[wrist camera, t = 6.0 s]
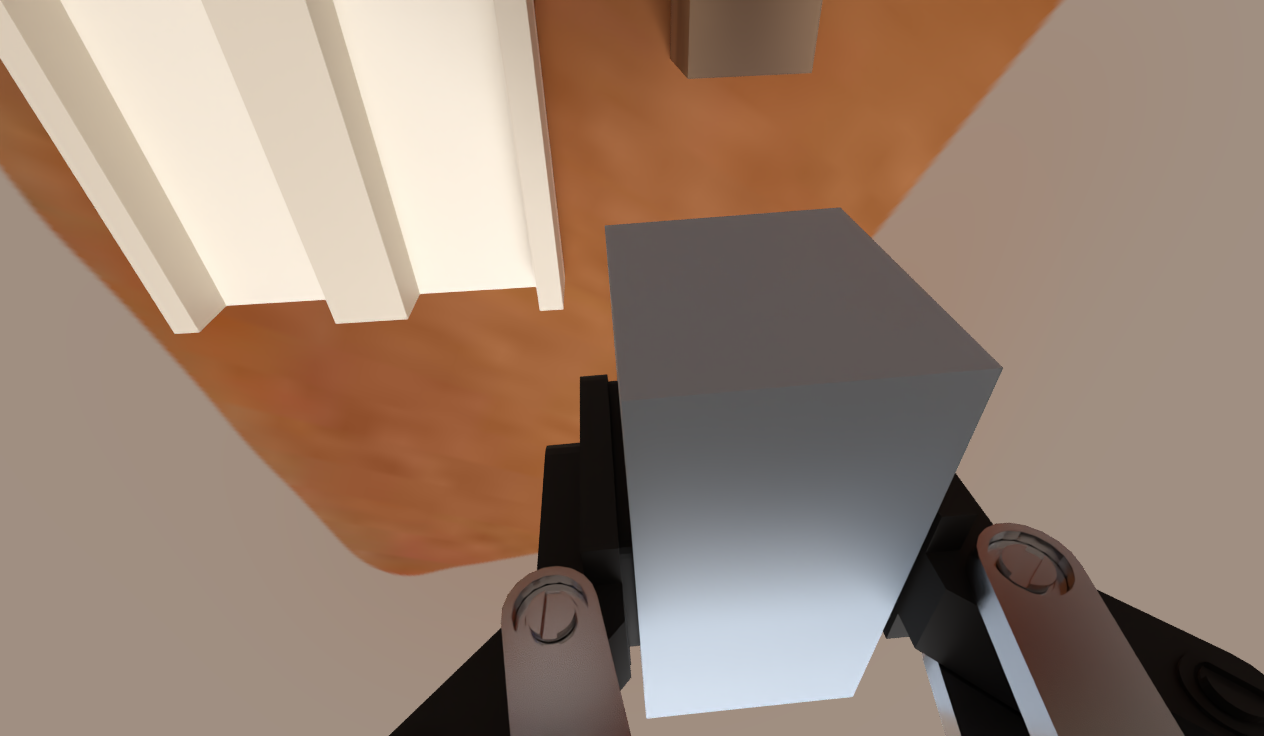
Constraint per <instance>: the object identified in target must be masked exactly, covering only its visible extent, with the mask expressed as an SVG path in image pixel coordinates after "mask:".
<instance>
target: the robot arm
mask: <svg viewBox="0 0 1264 736" xmlns="http://www.w3.org/2000/svg"><path fill="white" fill-rule="evenodd" d="M883 632H884V635H885V637H886V638H887V639H888V638H889V639H890V638H899V637H910V639H911V641H912V643H913V645H914V647H915V648H916V649H917V650H919V651H920V652H922V655H923V661H924V664H925V667H926V671H927V674H928V677H929V681H930V684H931V688H932V691H933V695H934V698H935V701H936V705H937V707H938V711H939V714H940V718H941V721H942V725H943V728H944V731H945V735H946V736H1264V675H1263V674H1262V673H1261V672H1260V671H1258V670H1257V669H1256V668H1254V667H1253V666H1252V665H1250V664H1248V663H1246V662H1245V661H1243V660H1241V659H1240V658H1237V657H1236V656H1234V655H1232V654H1231V653H1229V652H1227V651H1224V650H1222V649H1220V648H1218V647H1216V646H1214V645H1212V644H1210V643H1208V642H1206V641H1204V640H1201V639H1199V638H1197V637H1195V636H1193V635H1191V634H1189V633H1187V632H1185V631H1183V630H1180V629H1178V628H1176V627H1174V626H1172V625H1170V624H1168V623H1166V622H1163V621H1162V620H1159V619H1157V618H1155V617H1153V616H1151V615H1149V614H1147V613H1145V612H1143V611H1141V610H1139V609H1136V608H1134V607H1132V606H1130V605H1128V604H1126V603H1124V602H1121V601H1120V600H1117V599H1115V598H1113V597H1111V596H1109V595H1107V594H1105V593H1103V592H1101V591H1099V590H1097V589H1096V588H1095V587H1094V585H1093V583H1092V581H1091V580H1090V578H1089V576H1088V575H1087V573H1086V572H1085V570H1084V568H1083V566H1082V565H1081V564H1080V562H1079V561H1078V560H1077V559H1076V557H1075V556H1074V555H1073V554H1072V552H1071V551H1069V550H1068V549H1067V548H1066V547H1065V546H1063V545H1062V544H1061V543H1060V542H1059V541H1057V540H1055V539H1054V538H1052V537H1050V536H1049V535H1047V534H1045V533H1044V532H1042V531H1039V530H1036V529H1034V528H1031V527H1028V526H1025V525H1020V524H1013V523H1000V524H995V525H993V524H992V522H990V520H989V518H988V517H987V516H986V514H985V513H984V511H983V510H982V509H981V507H980V506H979V505H978V503H977V502H976V501H975V499H974V498H973V497H972V495H971V494H970V492H969V491H968V490H967V488H966V487H965V486H964V484H963V483H962V481H961V480H960V479H959V477H958V476H957V475H956V473H955V474H954V476H953V479H952V481H951V483H950V485H949V487H948V490H947V492H946V494H945V496H944V498H943V500H942V503H941V505H940V507H939V509H938V511H937V514H936V516H935V518H934V520H933V522H932V524H931V527H930V529H929V531H928V533H927V535H926V538H925V540H924V542H923V544H922V546H921V549H920V551H919V553H918V555H917V557H916V559H915V562H914V564H913V566H912V568H911V570H910V573H909V575H908V577H907V579H906V581H905V583H904V586H903V588H902V590H901V592H900V594H899V597H898V599H897V601H896V603H895V605H894V608H893V610H892V612H891V614H890V616H889V618H888V621H887V623H886V625H885V627H884V629H883ZM630 646H640V633H639V620H638V608H637V595H636V583H635V570H634V558H633V546H632V534H631V523H630V512H629V501H628V490H627V478H626V467H625V456H624V445H623V434H622V423H621V412H620V401H619V389H618V381H609V382H608V377H607V374H606V375H595V376H583V377H580V443H572V444H561V445H550V446H547V447H546V452H545V464H544V478H543V492H542V507H541V521H540V536H539V550H538V564H537V571H535V572H532V573H529V574H528V575H527V576H525V577H524V578H523V579H521V580H520V581H519V582H518V583H517V584H516V585H515V586H514V588H513V589H512V590H511V591H510V593H509V594H508V596H507V598H506V601H505V603H504V605H503V608H502V618H501V628H500V629H499V630H498V631H497V632H496V633H495V634H494V635H493V636H492V637H491V638H490V639H489V640H488V641H487V642H486V643H485V644H484V645H483V646H482V647H481V648H480V649H479V650H478V651H477V652H476V653H474V654H473V655H472V656H471V657H470V658H469V659H468V660H467V661H466V662H465V663H464V664H463V665H462V666H461V667H460V668H459V669H458V670H457V671H456V672H455V673H454V674H453V675H452V676H451V677H450V678H449V679H448V680H446V681H445V682H444V683H443V684H442V685H441V686H440V687H439V688H438V689H437V690H436V691H435V692H434V693H433V694H432V695H431V696H430V697H429V698H428V699H427V700H426V701H425V702H424V703H423V704H421V705H420V706H419V707H418V708H417V709H416V710H415V711H414V712H413V713H412V714H411V715H410V716H409V717H408V718H407V719H406V720H405V721H404V722H403V723H402V724H401V725H400V726H399V727H398V728H396V729H395V730H394V731H393V732H392V733H391V734H390V735H389V736H631V734H630V729H629V725H628V721H627V717H626V713H625V709H624V704H623V700H622V696H621V692H620V691H621V689H622V688H623V687H624V686H625V684H626V683H627V682H628V681H629V679H630V678H631V670H630V665H631V661H630V660H631V659H630Z"/></svg>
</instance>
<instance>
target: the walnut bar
mask: <svg viewBox="0 0 1264 736" xmlns="http://www.w3.org/2000/svg"><path fill="white" fill-rule="evenodd" d="M821 7H822V0H671V32H670V59H671V60H672V61H673V62H674V64H675V65H676V66H677V67H678V68H679V69H680V70H681V72H682V73H683V74H684V75H685V76H686V77H687V78H688V79H695V78H715V77H736V76H757V75H778V74H799V73H812V68H813V61H814V54H815V47H816V41H817V34H818V27H819V20H820V14H821Z"/></svg>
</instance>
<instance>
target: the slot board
mask: <svg viewBox="0 0 1264 736" xmlns="http://www.w3.org/2000/svg"><path fill="white" fill-rule="evenodd" d="M0 58H1V60H2V62H3V63H4V65H5V66H6V68H7V69H8V71H9V73H10V74H11V76H12V77H13V79H14V80H15V82H16V84H17V85H18V87H19V88H20V90H21V92H22V93H23V95H24V96H25V98H26V99H27V101H28V103H29V104H30V106H31V107H32V109H33V110H34V112H35V114H36V115H37V117H38V118H39V120H40V122H41V123H42V125H43V126H44V128H45V129H46V131H47V133H48V134H49V136H50V137H51V139H52V141H53V142H54V144H55V145H56V147H57V148H58V150H59V152H60V153H61V155H62V156H63V158H64V159H65V161H66V163H67V164H68V166H69V167H70V169H71V171H72V172H73V174H74V175H75V177H76V178H77V180H78V182H79V183H80V185H81V186H82V188H83V189H84V191H85V193H86V194H87V196H88V197H89V199H90V201H91V202H92V204H93V205H94V207H95V208H96V210H97V212H98V213H99V215H100V216H101V218H102V220H103V221H104V223H105V224H106V226H107V227H108V229H109V231H110V232H111V234H112V235H113V237H114V238H115V240H116V242H117V243H118V245H119V246H120V248H121V250H122V251H123V253H124V254H125V256H126V257H127V259H128V261H129V262H130V264H131V265H132V267H133V268H134V270H135V272H136V273H137V275H138V276H139V278H140V280H141V281H142V283H143V284H144V286H145V287H146V289H147V291H148V292H149V294H150V295H151V297H152V299H153V300H154V302H155V303H156V305H157V306H158V308H159V310H160V311H161V313H162V314H163V316H164V317H165V319H166V321H167V322H168V324H169V325H170V327H171V329H172V330H173V332H174V333H175V334H180V333H195V332H200V331H201V330H202V329H203V328H204V327H205V326H206V325H207V324H208V323H209V322H210V321H211V320H212V319H213V318H214V317H216V316H217V315H218V314H219V313H220V312H221V311H222V310H223V309H224V308H225V307H226V306H228V305H245V304H261V303H277V302H294V301H310V300H326V301H327V304H328V306H329V308H330V311H331V313H332V316H333V318H334V320H335V323H336V324H338V323H354V322H370V321H386V320H401V319H408V318H409V316H410V313H411V311H412V309H413V307H414V305H415V303H416V301H417V299H418V297H419V295H420V294H424V293H441V292H457V291H473V290H490V289H506V288H522V287H536V288H537V294H538V301H539V307H540V311H544V310H560V309H563V306H564V286H565V273H564V264H563V255H562V247H561V238H560V229H559V220H558V211H557V203H556V194H555V185H554V176H553V168H552V159H551V150H550V141H549V132H548V124H547V115H546V106H545V97H544V89H543V80H542V71H541V62H540V53H539V45H538V36H537V27H536V18H535V10H534V1H533V0H0Z"/></svg>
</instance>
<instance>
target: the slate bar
mask: <svg viewBox="0 0 1264 736" xmlns="http://www.w3.org/2000/svg"><path fill="white" fill-rule="evenodd" d="M605 235H606V247H607V259H608V271H609V283H610V296H611V308H612V320H613V332H614V344H615V356H616V368H617V380H618V389H619V401H620V412H621V423H622V434H623V445H624V456H625V467H626V478H627V490H628V501H629V512H630V523H631V534H632V546H633V558H634V570H635V583H636V595H637V608H638V620H639V633H640V651H641V662H642V673H643V685H644V697H645V708H646V718H655V717H665V716H674V715H683V714H693V713H702V712H712V711H722V710H731V709H740V708H750V707H759V706H768V705H778V704H788V703H797V702H807V701H816V700H825V699H835V698H844V697H852V696H853V694H854V693H855V691H856V688H857V686H858V684H859V682H860V679H861V677H862V675H863V673H864V671H865V669H866V666H867V664H868V662H869V660H870V658H871V655H872V653H873V651H874V649H875V647H876V644H877V642H878V640H879V638H880V636H881V634H882V631H883V629H884V627H885V625H886V623H887V621H888V618H889V616H890V614H891V612H892V610H893V608H894V605H895V603H896V601H897V599H898V597H899V594H900V592H901V590H902V588H903V586H904V583H905V581H906V579H907V577H908V575H909V573H910V570H911V568H912V566H913V564H914V562H915V559H916V557H917V555H918V553H919V551H920V549H921V546H922V544H923V542H924V540H925V538H926V535H927V533H928V531H929V529H930V527H931V524H932V522H933V520H934V518H935V516H936V514H937V511H938V509H939V507H940V505H941V503H942V500H943V498H944V496H945V494H946V492H947V490H948V487H949V485H950V483H951V481H952V479H953V476H954V474H955V472H956V470H957V468H958V466H959V463H960V461H961V459H962V457H963V455H964V452H965V450H966V448H967V446H968V443H969V441H970V439H971V437H972V435H973V433H974V431H975V428H976V426H977V424H978V422H979V419H980V417H981V415H982V413H983V411H984V409H985V407H986V404H987V402H988V400H989V398H990V396H991V393H992V391H993V389H994V387H995V385H996V382H997V380H998V378H999V376H1000V374H1001V372H1002V369H1003V367H1002V366H1000V365H999V363H998V362H997V361H996V360H995V359H993V358H992V357H991V356H990V355H989V354H988V353H987V352H986V351H985V350H984V349H983V348H982V347H981V346H980V345H979V344H978V343H977V342H976V341H975V340H974V339H973V338H972V337H971V336H970V335H969V334H968V333H967V332H966V331H965V330H964V329H963V328H962V327H961V326H960V325H959V324H958V323H957V322H956V321H955V320H954V319H953V318H952V317H951V316H950V315H949V314H948V313H947V312H946V311H945V310H944V309H943V308H942V307H941V306H940V305H939V304H937V302H936V301H934V299H932V297H931V296H930V295H928V294H927V293H926V292H925V291H924V290H923V289H922V288H921V287H920V286H919V285H918V284H917V283H916V282H915V281H914V280H913V279H912V278H911V277H910V276H909V275H908V274H907V273H906V272H905V271H904V270H903V269H902V268H901V267H900V266H899V265H898V264H897V263H896V262H895V261H894V260H893V259H892V258H891V257H890V256H889V255H888V254H887V253H886V252H885V251H884V250H883V249H882V248H881V247H880V246H879V245H878V244H877V243H876V242H875V241H874V240H873V239H872V238H871V237H870V236H869V235H868V234H867V233H866V232H865V231H864V230H862V229H861V228H860V227H859V226H858V225H857V224H856V223H855V222H854V221H853V220H852V219H851V218H850V217H849V216H848V215H847V214H846V213H845V212H844V211H843V210H842V209H841V208H829V209H816V210H803V211H790V212H777V213H764V214H751V215H738V216H725V217H711V218H698V219H685V220H672V221H659V222H646V223H633V224H620V225H607V226H605Z"/></svg>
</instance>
